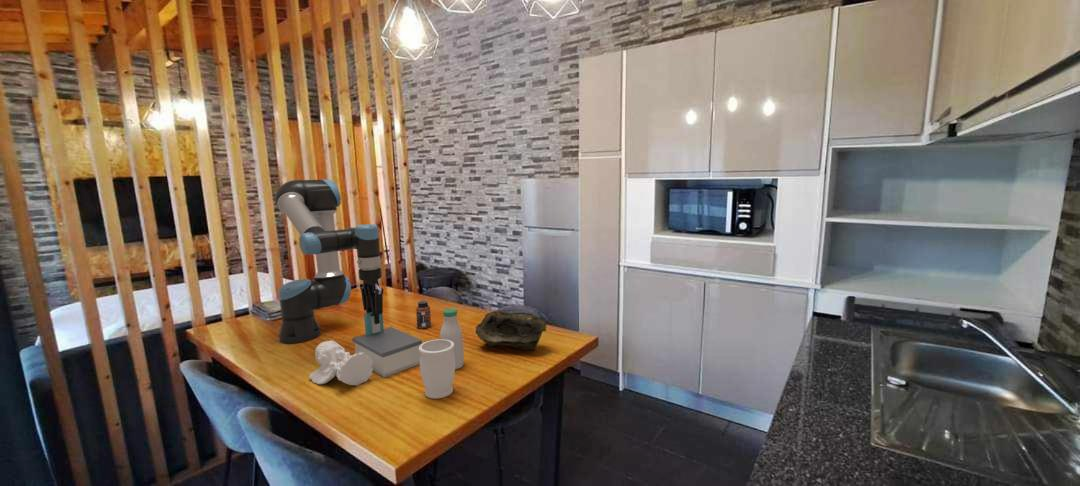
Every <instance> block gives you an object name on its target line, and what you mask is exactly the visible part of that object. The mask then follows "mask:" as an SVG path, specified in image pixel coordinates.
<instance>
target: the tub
mask: <svg viewBox="0 0 1080 486" xmlns="http://www.w3.org/2000/svg"><path fill="white" fill-rule="evenodd" d="M420 345H421V344H419V345H416V346H413V347H410V348H408V349H405V350H402V351H399V352H396V353H393V354H390V355H387V356H384V357H380V356H379V355H377V354H375V353H373V352H371V351H369V350H367V349H366V348H364V347H362V346H360V345H358V344H356V343H355V342H354V351H355V354H357V353H358V354H359V353H362V352H363V353H365V355H366V356H368V357H369V358H370V359H371V360H372V368H373V371H372V372H374V373H375V374H377V375H379V376H381V377H383V378H387V377H390V376H392V375H395V374H397V373H400V372H403V371H406V370H408V369H410V368H414V367H417V366H418V365H419V366H420V355H421V353H420V352H419V346H420Z"/></svg>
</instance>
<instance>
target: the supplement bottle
mask: <svg viewBox="0 0 1080 486" xmlns="http://www.w3.org/2000/svg"><path fill="white" fill-rule="evenodd" d="M417 303H418V305H417V307H416V308H415V310H416V311H415V312H416V326H417V327H416V328H418V329H423V330H424V329H427V328H430V327H432V321H431V320H432V319H431V318H432V317H431V307H430V306H429V304H428V301H427V300H421V301H418V302H417Z"/></svg>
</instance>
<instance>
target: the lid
mask: <svg viewBox="0 0 1080 486" xmlns="http://www.w3.org/2000/svg"><path fill="white" fill-rule="evenodd" d="M371 314H372V312H370V313H367V312H366V313H364V314H363V317H364V318H363V319H364V331H365V333H364V334H362V335H358V336H355V337H352V339H351V341H352V343H354V344H355V343H356V344H358V345H360V346H362V347H364V348H366V349H367V350H369V351H371V352H373V353H375V354H377V355H379V356H380V357H384V356H387V355H390V354H393V353H396V352H399V351H402V350H405V349H408V348H410V347H413V346H416V345H419V344H420V345H421V344H423V340H422V339H420V338H418V337H415V336H413V335H410V334H408V333H407V332H404V331H402V330H400V329H398V328H395V327H392V326H390V327H389V326H388V327H385V328H384V317H383V316H384V314H383V313H382V314H379V318H380V331H379V332H376V333H372V320H371Z"/></svg>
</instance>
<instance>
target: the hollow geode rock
mask: <svg viewBox="0 0 1080 486" xmlns="http://www.w3.org/2000/svg"><path fill="white" fill-rule="evenodd" d="M543 332H547V321H546V320H545V319H544V318H542V317H537V316H535V315H534V314H532V313H526V312H519V313H518V312H516V313H504V312H499V313H498V312H496V311H491V312H489V313H486V314H485V315H484V318H483V319H482V320H481V322H480V323H479V324H478V325H476V327H475V334H476V335H477V337H478V338H479V340H481V341H483V343H485V344H486V345H487V346H488V348H490V347H491V348H492V347H495V346H506V347H507V346H511V347H514V348H515V349H516V348H517V349H522V350H527V351H529V350H530V351H536V349H537V346H538V343H539V342H540V340H541V337H542V335H543Z"/></svg>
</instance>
